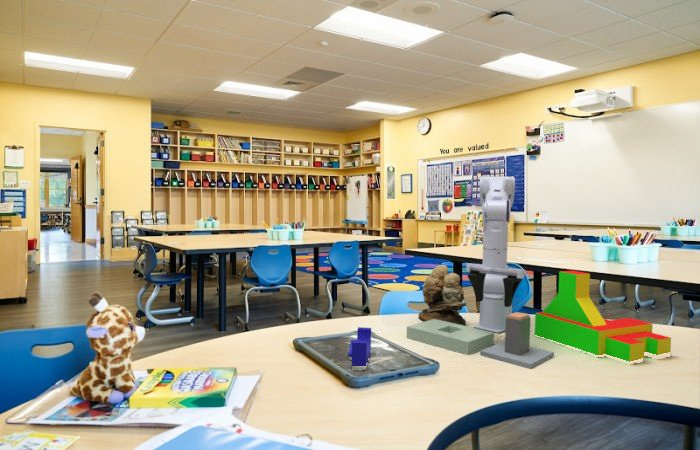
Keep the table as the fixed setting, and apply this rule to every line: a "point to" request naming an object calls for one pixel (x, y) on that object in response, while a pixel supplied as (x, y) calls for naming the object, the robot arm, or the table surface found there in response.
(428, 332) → the socket block
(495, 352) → the mat
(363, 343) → the blue stepped block
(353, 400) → the table surface
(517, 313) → the plug
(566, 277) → the building blocks toy
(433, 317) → the owl figurine
